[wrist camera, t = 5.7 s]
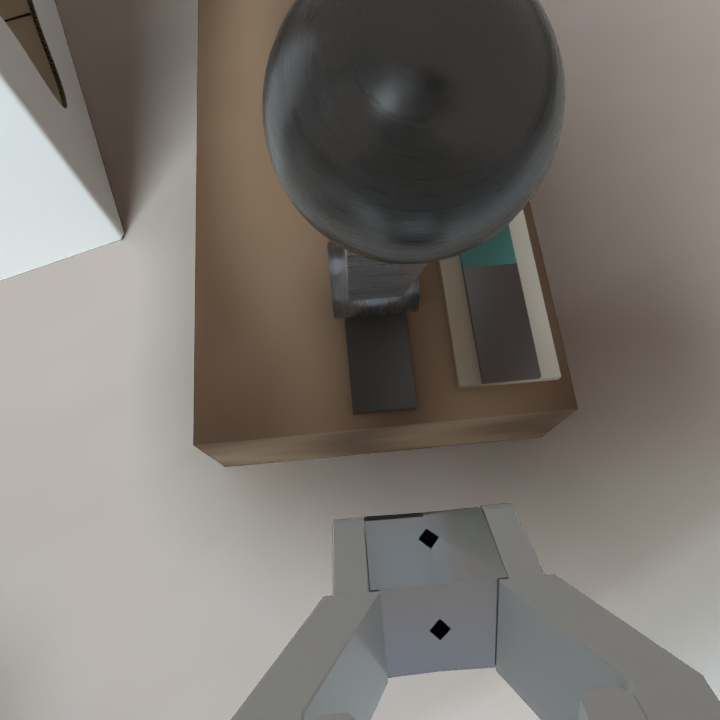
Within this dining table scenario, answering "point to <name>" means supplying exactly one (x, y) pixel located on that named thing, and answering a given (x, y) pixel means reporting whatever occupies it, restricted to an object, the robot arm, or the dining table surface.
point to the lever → (409, 131)
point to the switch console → (315, 309)
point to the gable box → (46, 147)
